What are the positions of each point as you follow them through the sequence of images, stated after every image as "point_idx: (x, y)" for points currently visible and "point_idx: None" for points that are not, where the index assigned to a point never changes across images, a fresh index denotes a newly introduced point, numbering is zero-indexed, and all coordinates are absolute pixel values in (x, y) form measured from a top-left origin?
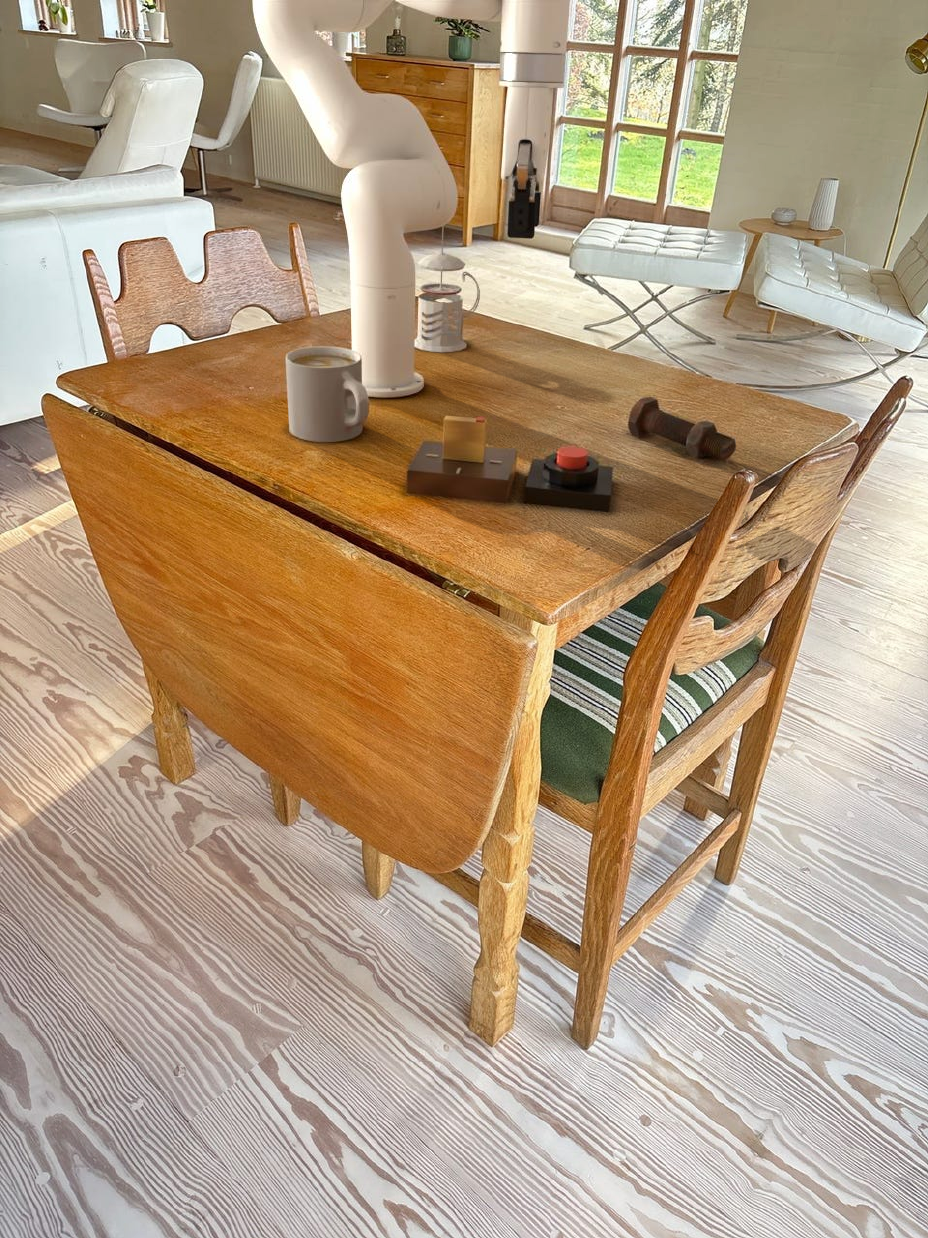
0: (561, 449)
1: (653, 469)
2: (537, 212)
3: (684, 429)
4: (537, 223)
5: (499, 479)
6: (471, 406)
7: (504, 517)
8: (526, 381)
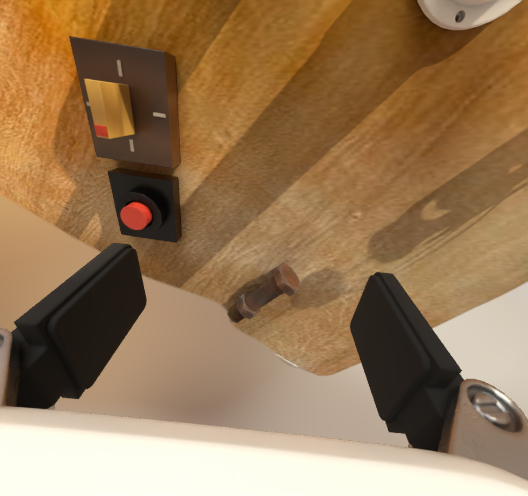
0: (134, 209)
1: (216, 266)
2: (360, 356)
3: (251, 299)
4: (351, 330)
5: (95, 148)
6: (366, 114)
7: (85, 150)
8: (451, 186)
